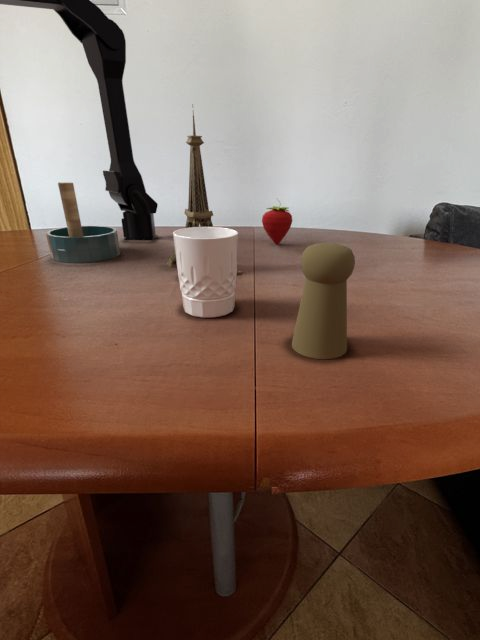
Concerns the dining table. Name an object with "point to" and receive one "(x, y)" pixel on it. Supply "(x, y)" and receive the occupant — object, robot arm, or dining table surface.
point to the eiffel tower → (196, 192)
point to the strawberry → (277, 223)
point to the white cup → (207, 269)
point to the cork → (324, 301)
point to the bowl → (84, 244)
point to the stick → (70, 209)
